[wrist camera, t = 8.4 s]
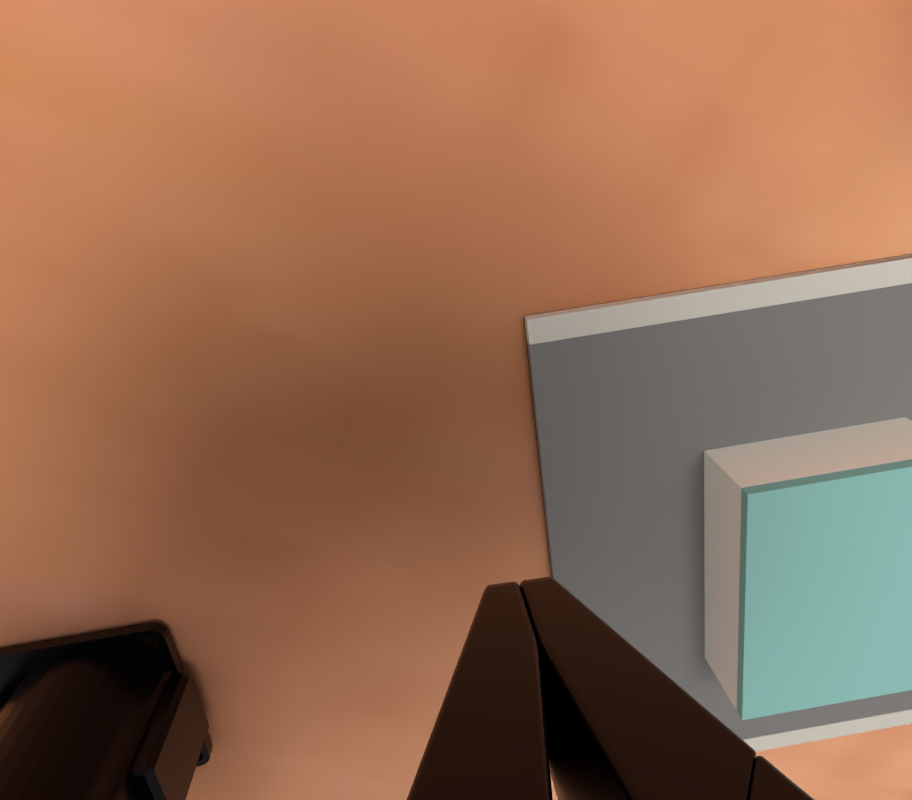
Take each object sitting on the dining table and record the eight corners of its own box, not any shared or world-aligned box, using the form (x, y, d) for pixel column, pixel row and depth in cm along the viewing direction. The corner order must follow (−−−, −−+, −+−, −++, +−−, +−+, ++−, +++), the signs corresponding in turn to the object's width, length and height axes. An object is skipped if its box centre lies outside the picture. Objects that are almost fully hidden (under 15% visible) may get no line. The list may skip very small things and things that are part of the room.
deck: (742, 720, 23) (938, 685, 23) (747, 494, 20) (976, 455, 20) (704, 657, 26) (879, 626, 26) (704, 450, 22) (905, 417, 23)
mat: (573, 774, 28) (575, 784, 28) (524, 316, 21) (527, 319, 20) (985, 700, 29) (993, 708, 28) (1082, 226, 21) (1095, 228, 21)
